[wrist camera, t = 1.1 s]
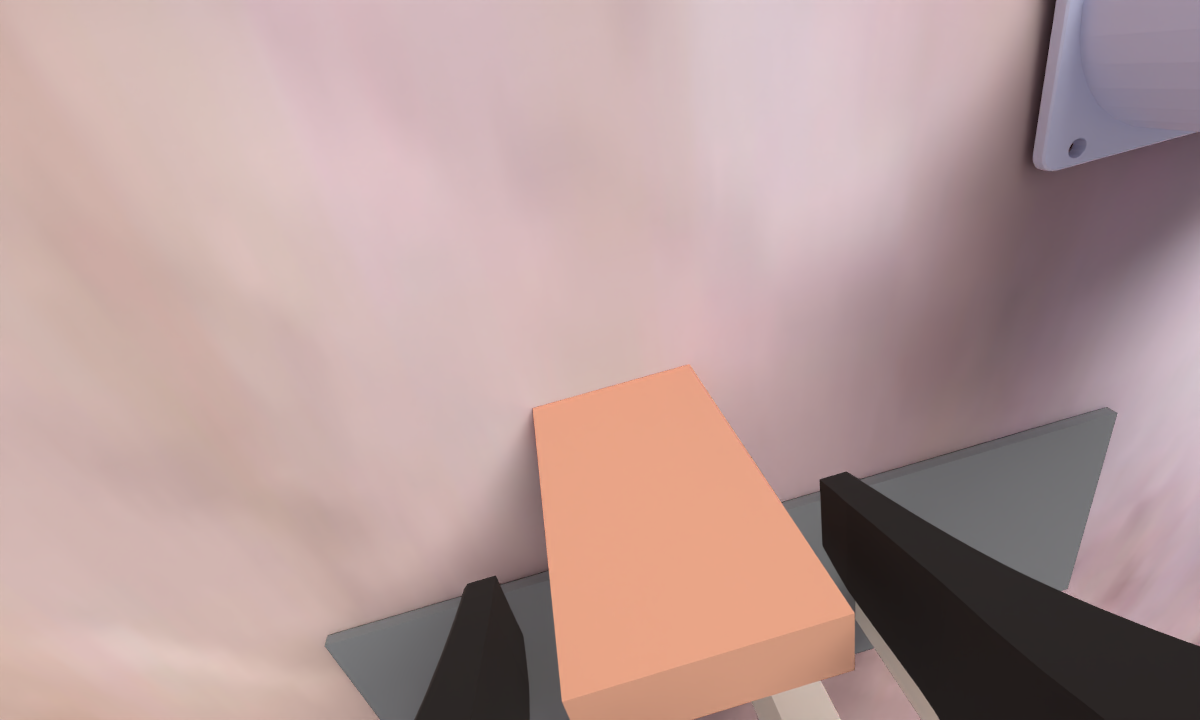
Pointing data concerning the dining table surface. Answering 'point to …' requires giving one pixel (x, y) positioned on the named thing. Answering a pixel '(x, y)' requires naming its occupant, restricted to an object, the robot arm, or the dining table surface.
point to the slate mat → (928, 489)
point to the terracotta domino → (675, 560)
